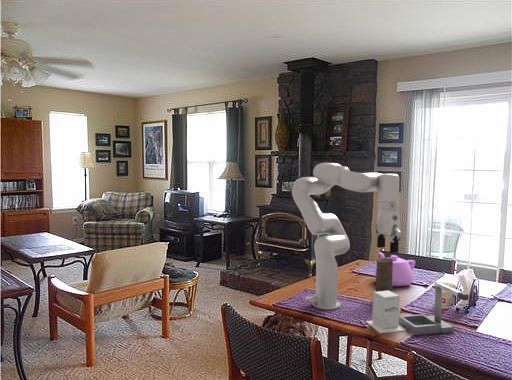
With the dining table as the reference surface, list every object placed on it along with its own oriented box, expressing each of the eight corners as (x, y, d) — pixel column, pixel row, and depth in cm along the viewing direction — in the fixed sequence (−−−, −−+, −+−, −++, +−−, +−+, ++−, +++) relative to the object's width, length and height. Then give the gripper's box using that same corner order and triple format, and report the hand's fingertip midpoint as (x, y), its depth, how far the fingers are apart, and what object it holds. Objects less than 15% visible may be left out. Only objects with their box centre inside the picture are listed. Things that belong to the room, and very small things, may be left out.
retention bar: (470, 299, 144) (470, 294, 144) (462, 300, 144) (462, 294, 143) (439, 286, 160) (439, 281, 160) (432, 286, 160) (432, 281, 160)
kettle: (423, 286, 211) (424, 258, 210) (386, 289, 206) (387, 260, 205) (399, 275, 233) (399, 249, 232) (365, 277, 228) (365, 250, 227)
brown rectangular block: (392, 304, 184) (393, 260, 183) (376, 303, 186) (377, 260, 184) (390, 299, 192) (391, 257, 190) (374, 297, 193) (375, 256, 192)
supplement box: (382, 329, 155) (383, 297, 154) (371, 322, 162) (372, 291, 161) (399, 327, 157) (400, 295, 157) (387, 320, 164) (388, 289, 164)
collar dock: (415, 335, 151) (416, 294, 150) (397, 323, 163) (398, 285, 162) (453, 332, 154) (454, 292, 153) (433, 320, 166) (434, 282, 165)
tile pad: (379, 333, 153) (379, 332, 153) (366, 322, 164) (366, 321, 164) (406, 330, 155) (406, 329, 155) (391, 319, 166) (391, 319, 166)
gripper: (410, 208, 149) (408, 254, 150) (385, 203, 166) (384, 245, 167) (391, 208, 147) (390, 255, 148) (368, 203, 164) (367, 245, 165)
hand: (387, 249), depth 157 cm, fingers open, 9 cm apart
